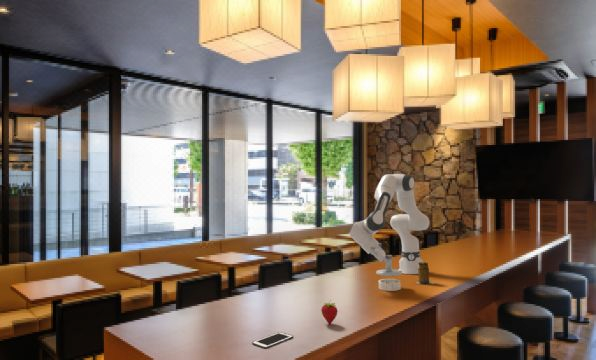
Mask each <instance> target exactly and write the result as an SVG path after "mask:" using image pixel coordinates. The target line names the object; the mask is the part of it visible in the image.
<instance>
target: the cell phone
mask: <svg viewBox="0 0 596 360" xmlns="http://www.w3.org/2000/svg"><path fill="white" fill-rule="evenodd" d="M292 339H294V335H292V334H289V333H286V332H283V331H278V332H275V333H273V334H271V335H267V336H265V337H261V338H259V339H256V340H254V341H252V342H251V345H253V346H255V347H259V348H262V349H264V350H266V349H270V348H272V347H275V346H277V345H279V344H282V343H284V342H286V341H289V340H292Z"/></svg>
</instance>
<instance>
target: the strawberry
mask: <svg viewBox="0 0 596 360" xmlns="http://www.w3.org/2000/svg"><path fill="white" fill-rule="evenodd" d="M331 301H332V299H330V300H329V302H326V303H325V302H324V304H323V306H321V309H320V311H321V315H322V316H323V318H324V319H325V321H326V322H327V324H329V325H331V324H333V322H334V321H335V319H336V317H337V315H338V308H337V307H336V303H335V302H334V303H333V302H332V303H331Z"/></svg>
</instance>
